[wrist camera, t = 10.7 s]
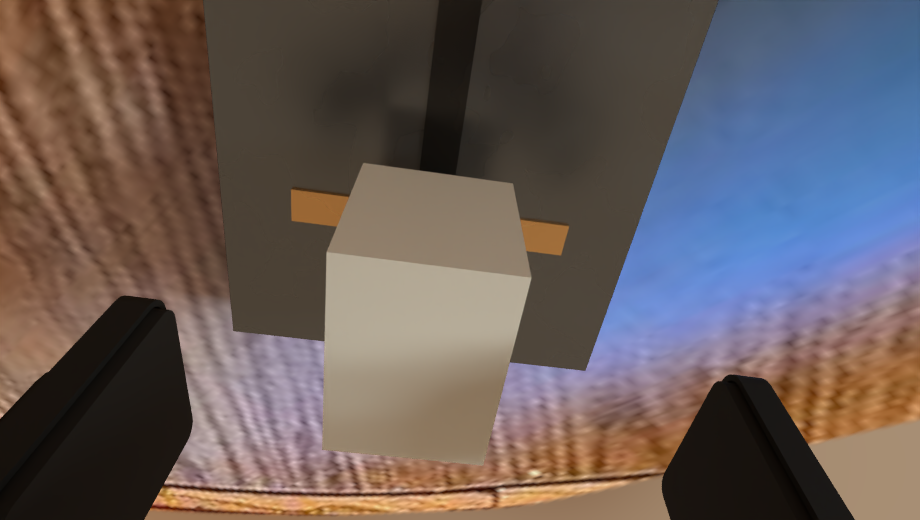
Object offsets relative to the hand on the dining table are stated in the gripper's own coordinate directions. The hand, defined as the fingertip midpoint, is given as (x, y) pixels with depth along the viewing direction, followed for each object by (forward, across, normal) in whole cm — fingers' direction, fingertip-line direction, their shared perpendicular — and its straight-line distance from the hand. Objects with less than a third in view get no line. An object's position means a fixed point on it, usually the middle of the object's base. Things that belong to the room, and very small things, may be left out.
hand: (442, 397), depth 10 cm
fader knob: (+7, +1, 0) cm, 7 cm away
